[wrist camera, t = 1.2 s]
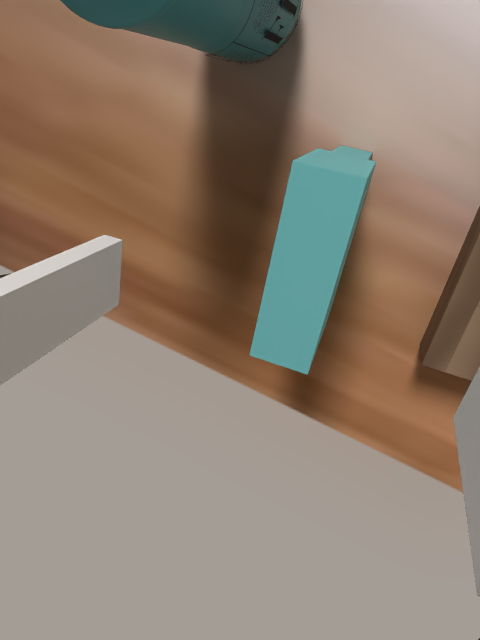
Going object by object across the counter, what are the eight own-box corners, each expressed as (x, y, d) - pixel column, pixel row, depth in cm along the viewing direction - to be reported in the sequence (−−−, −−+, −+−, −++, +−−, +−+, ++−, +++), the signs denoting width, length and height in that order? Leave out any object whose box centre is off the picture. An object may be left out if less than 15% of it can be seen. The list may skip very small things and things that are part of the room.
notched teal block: (298, 276, 33) (249, 355, 23) (334, 140, 28) (292, 160, 18) (339, 288, 32) (307, 374, 22) (381, 151, 28) (367, 178, 18)
